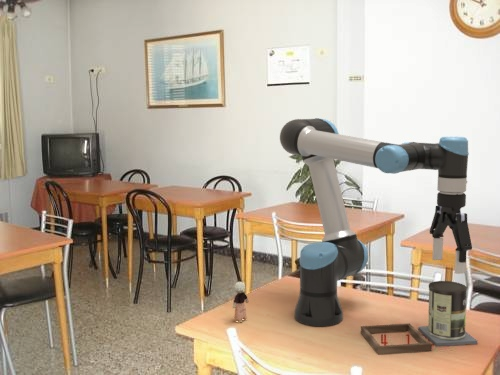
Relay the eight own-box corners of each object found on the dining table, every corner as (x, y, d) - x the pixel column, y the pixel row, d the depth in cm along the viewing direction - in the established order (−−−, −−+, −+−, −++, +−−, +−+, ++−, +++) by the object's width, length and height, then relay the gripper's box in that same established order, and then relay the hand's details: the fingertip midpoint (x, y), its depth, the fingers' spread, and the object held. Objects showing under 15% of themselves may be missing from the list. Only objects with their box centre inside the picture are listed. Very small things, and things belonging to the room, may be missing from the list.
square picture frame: (360, 332, 160) (360, 326, 160) (409, 329, 162) (409, 323, 161) (378, 354, 145) (378, 347, 145) (431, 351, 147) (431, 344, 147)
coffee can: (461, 327, 160) (463, 281, 158) (468, 341, 150) (470, 292, 148) (425, 325, 162) (426, 279, 160) (429, 339, 152) (431, 290, 150)
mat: (418, 329, 161) (418, 326, 161) (456, 327, 163) (456, 324, 163) (436, 346, 150) (436, 343, 149) (477, 344, 151) (477, 340, 151)
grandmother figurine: (239, 316, 175) (239, 278, 173) (250, 317, 173) (250, 279, 172) (229, 324, 168) (228, 285, 166) (240, 326, 166) (239, 286, 165)
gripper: (488, 199, 139) (484, 279, 142) (443, 186, 163) (440, 254, 166) (461, 199, 138) (457, 280, 141) (419, 186, 162) (417, 255, 165)
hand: (448, 266), depth 154 cm, fingers open, 13 cm apart
